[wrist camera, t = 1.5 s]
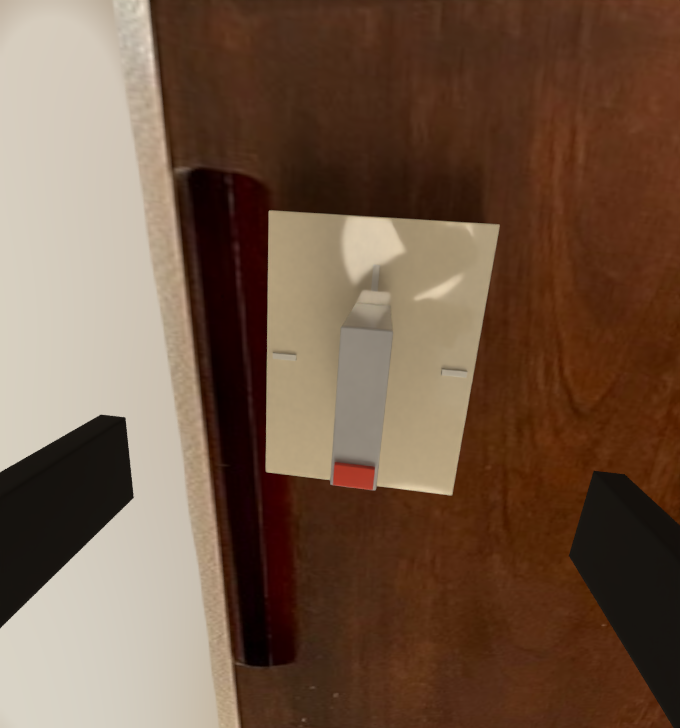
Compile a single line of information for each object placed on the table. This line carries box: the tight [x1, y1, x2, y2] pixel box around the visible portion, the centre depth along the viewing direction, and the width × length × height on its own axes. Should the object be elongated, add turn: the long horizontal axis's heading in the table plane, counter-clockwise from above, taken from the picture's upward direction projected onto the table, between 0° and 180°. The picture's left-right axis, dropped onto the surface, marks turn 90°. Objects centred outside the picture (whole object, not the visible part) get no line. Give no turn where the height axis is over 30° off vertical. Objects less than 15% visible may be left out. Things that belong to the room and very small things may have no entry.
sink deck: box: [266, 210, 500, 495], centre depth 23 cm, size 16×12×3 cm
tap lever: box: [330, 303, 393, 490], centre depth 19 cm, size 7×2×7 cm, turn 176°
